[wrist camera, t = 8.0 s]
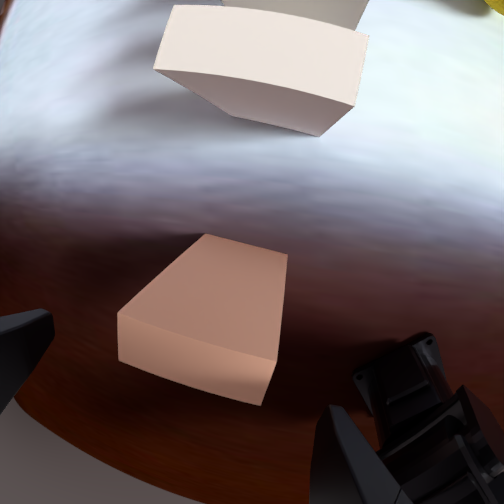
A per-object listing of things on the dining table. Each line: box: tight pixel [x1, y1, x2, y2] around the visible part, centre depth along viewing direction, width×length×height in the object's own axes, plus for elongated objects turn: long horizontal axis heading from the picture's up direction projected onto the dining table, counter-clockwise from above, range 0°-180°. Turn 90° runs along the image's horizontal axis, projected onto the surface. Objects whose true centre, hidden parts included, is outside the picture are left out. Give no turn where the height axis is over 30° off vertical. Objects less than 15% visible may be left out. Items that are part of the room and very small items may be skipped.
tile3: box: [221, 0, 369, 31], centre depth 9 cm, size 2×5×10 cm, turn 77°
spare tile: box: [118, 233, 287, 406], centre depth 13 cm, size 2×5×10 cm, turn 77°
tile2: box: [153, 5, 369, 137], centre depth 11 cm, size 2×5×10 cm, turn 76°
